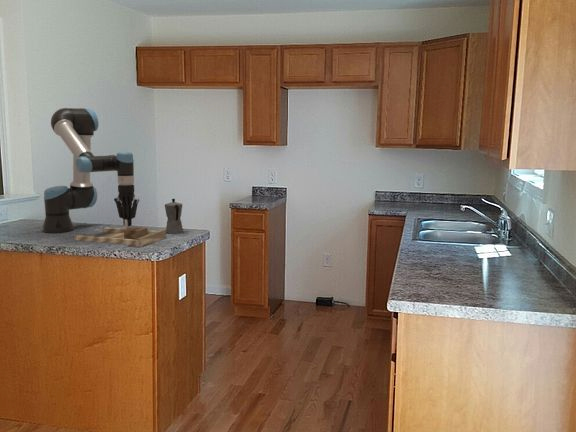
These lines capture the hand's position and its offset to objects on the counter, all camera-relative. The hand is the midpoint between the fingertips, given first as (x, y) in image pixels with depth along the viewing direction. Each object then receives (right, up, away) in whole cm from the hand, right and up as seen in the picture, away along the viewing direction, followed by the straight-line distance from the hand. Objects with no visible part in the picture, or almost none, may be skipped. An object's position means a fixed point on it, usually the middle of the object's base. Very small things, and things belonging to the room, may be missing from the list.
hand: (127, 232), depth 260 cm
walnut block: (+4, -3, -1) cm, 6 cm away
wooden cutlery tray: (-4, -4, +2) cm, 5 cm away
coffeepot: (+19, -1, +20) cm, 27 cm away
